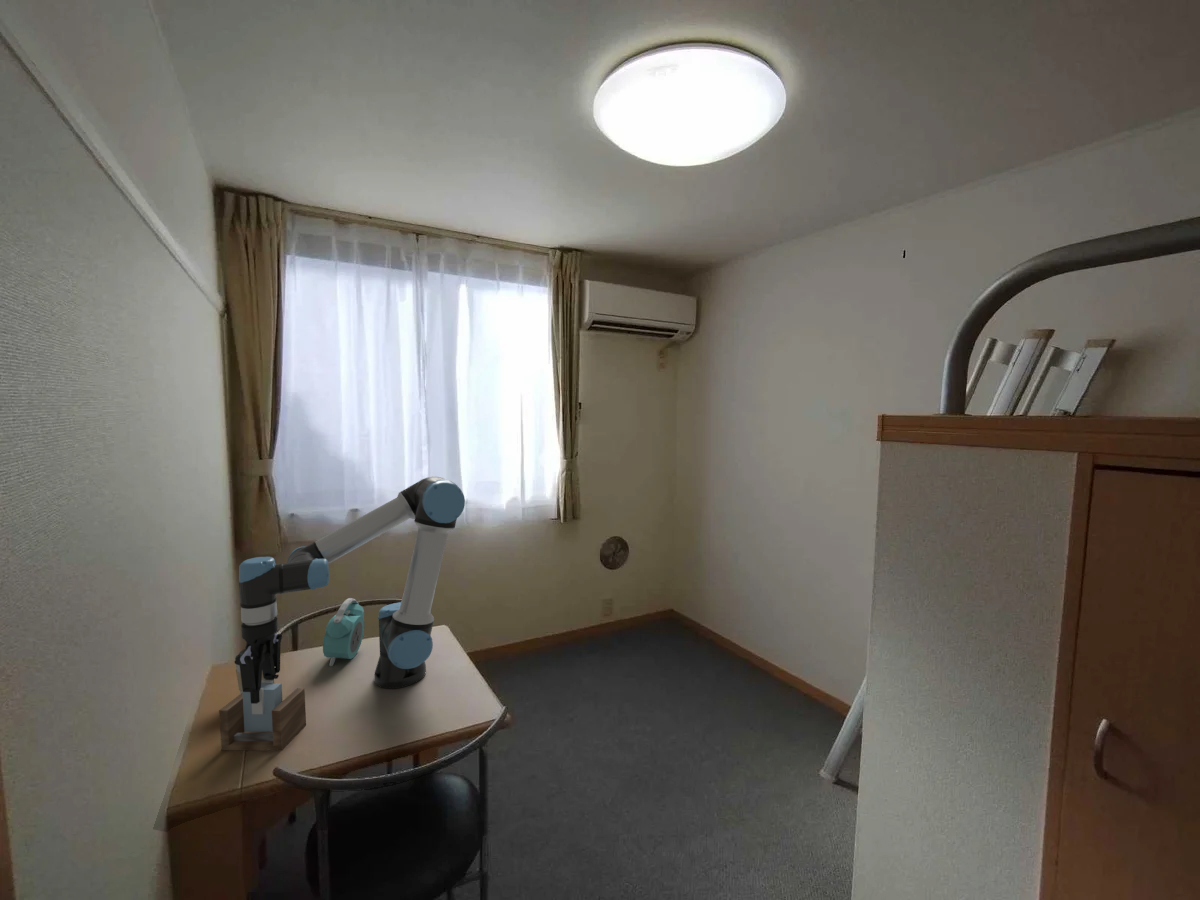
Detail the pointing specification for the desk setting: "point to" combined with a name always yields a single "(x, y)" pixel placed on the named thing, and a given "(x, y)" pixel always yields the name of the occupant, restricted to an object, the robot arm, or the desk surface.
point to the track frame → (285, 727)
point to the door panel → (270, 702)
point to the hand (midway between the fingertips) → (263, 708)
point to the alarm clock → (344, 632)
